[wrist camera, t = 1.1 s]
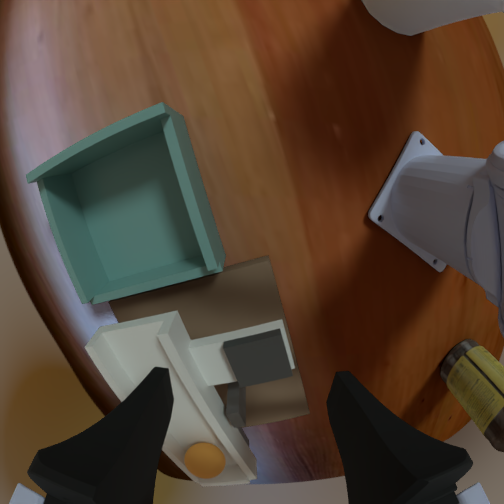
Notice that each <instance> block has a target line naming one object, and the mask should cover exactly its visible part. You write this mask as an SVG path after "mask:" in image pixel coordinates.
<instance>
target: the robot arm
mask: <svg viewBox="0 0 504 504" xmlns="http://www.w3.org/2000/svg"><path fill="white" fill-rule="evenodd" d="M420 139H421V140H422V145H421V144H420ZM380 215H381V216H382V218H381V220H380V221H378V217H379V216H380ZM368 217H369V219H370V220H372V221H373V222H374V223H376V224H377V225H379V226H380V227H381V228H383V229H384V230H385V231H387V232H388V233H389V234H391V235H392V236H394V237H395V238H396V239H398V240H399V241H400V242H401V243H403V244H404V245H405V246H407V247H408V248H409V249H411V250H412V251H413V252H414V253H416V254H417V255H418V256H419V257H421V258H422V259H423V260H424V261H426V262H427V263H428V264H429V265H431V266H432V267H433V268H434V269H435V270H437V271H438V272H442V271H443V270H444V268H445V267H446V265H447V264H448V265H449V266H451V267H452V268H454V269H456V270H457V271H459V272H460V273H462V274H463V275H465V276H466V277H468V278H469V279H471V280H473V281H474V282H475V283H477V284H478V285H480V286H481V287H483V288H484V290H485V292H486V299H488V300H489V301H490V302H492V303H493V304H494V305H496V306H497V307H499V313H498V322H499V328H500V331H501V333H502V335H503V337H504V141H502V142H500V143H499V144H498V145H496V146H495V148H494V149H493V151H492V153H491V154H490V155H489V157H488V158H487V159H480V158H469V157H456V156H443V155H442V154H441V153H440V152H439V151H438V150H437V149H436V148H435V147H434V146H433V145H432V144H431V143H430V142H429V141H428V140H427V139H426V138H425V137H424V136H423V135H422V134H421V133H420V132H417V131H415V132H412V133H411V135H410V137H409V139H408V141H407V143H406V145H405V147H404V149H403V151H402V153H401V155H400V156H399V158H398V160H397V162H396V164H395V166H394V168H393V170H392V171H391V173H390V175H389V177H388V179H387V180H386V182H385V184H384V186H383V188H382V189H381V191H380V193H379V195H378V196H377V198H376V200H375V201H374V203H373V205H372V207H371V208H370V210H369V212H368ZM434 260H435V262H434V263H433V261H434ZM173 403H174V396H173V391H172V385H171V379H170V373H169V368H163V367H154V368H153V369H152V370H151V371H150V372H149V374H148V375H147V376H146V377H145V378H144V379H143V381H142V382H141V383H140V384H139V385H138V386H137V387H136V388H135V389H134V390H133V391H132V392H131V393H130V394H129V396H128V397H127V398H126V399H125V400H123V401H122V402H121V403H120V404H119V405H118V406H117V407H116V408H115V409H114V410H112V411H111V412H110V413H109V414H108V415H106V416H105V417H104V418H102V419H101V420H100V421H98V422H97V423H95V424H94V425H92V426H91V427H89V428H88V429H86V430H85V431H83V432H81V433H79V434H78V435H75V436H73V437H71V438H70V439H67V440H65V441H63V442H61V443H58V444H55V445H53V446H50V447H47V448H44V449H41V450H38V452H37V454H36V456H35V457H34V459H33V461H32V463H31V465H30V467H29V470H28V472H27V473H28V475H29V477H30V478H31V479H32V480H33V481H34V482H35V483H36V484H37V485H38V486H39V487H40V488H41V489H42V490H44V491H45V492H46V493H47V495H46V498H44V497H43V496H41V495H39V494H38V493H36V492H34V491H32V490H30V489H29V488H27V487H25V486H24V485H22V484H21V483H18V485H17V487H16V489H15V491H14V493H13V496H12V498H11V500H10V503H9V504H153V496H154V487H155V479H156V473H157V466H158V462H159V457H160V454H161V451H162V447H163V444H164V440H165V437H166V434H167V430H168V427H169V424H170V420H171V415H172V409H173ZM326 403H327V409H328V415H329V420H330V424H331V427H332V430H333V434H334V437H335V440H336V443H337V446H338V449H339V452H340V455H341V459H342V462H343V466H344V472H345V478H346V484H347V492H348V499H349V504H490V502H489V500H488V498H487V496H486V494H485V492H484V490H483V488H482V486H481V484H480V483H479V482H477V483H476V484H474V485H472V486H471V487H469V488H467V489H465V490H464V491H462V492H460V493H459V494H457V495H456V494H455V492H454V491H456V490H457V486H456V484H455V483H456V482H457V481H458V480H459V479H460V478H461V477H463V476H464V475H465V474H466V473H467V472H468V471H469V470H470V468H471V467H472V465H473V461H472V460H471V458H470V456H469V454H468V453H467V451H466V450H465V449H464V448H460V447H457V446H453V445H450V444H447V443H444V442H442V441H439V440H437V439H434V438H432V437H430V436H428V435H426V434H424V433H422V432H421V431H419V430H417V429H415V428H414V427H412V426H410V425H409V424H407V423H406V422H404V421H403V420H401V419H400V418H399V417H397V416H396V415H395V414H393V413H392V412H391V411H390V410H389V409H387V408H386V407H385V406H384V405H383V404H382V403H380V402H379V401H378V400H377V399H376V398H375V397H374V396H373V395H372V394H371V393H370V392H369V391H368V390H367V389H366V388H365V387H364V386H363V385H362V384H361V383H360V382H359V381H358V380H357V379H356V378H355V377H354V376H353V375H352V374H351V373H350V372H349V371H342V372H336V374H335V377H334V380H333V384H332V387H331V390H330V393H329V396H328V399H327V402H326Z"/></svg>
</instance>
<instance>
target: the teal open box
mask: <svg viewBox="0 0 504 504" xmlns="http://www.w3.org/2000/svg"><path fill="white" fill-rule="evenodd" d="M26 178H27V182H28V183H33V182H37V184H38V188H39V191H40V195H41V198H42V202H43V205H44V209H45V212H46V215H47V218H48V221H49V224H50V227H51V230H52V233H53V236H54V239H55V241H56V244H57V247H58V249H59V252H60V254H61V257H62V259H63V262H64V264H65V267H66V269H67V272H68V274H69V276H70V278H71V281H72V283H73V285H74V287H75V290H76V292H77V294H78V296H79V298H80V300H81V302H82V304H84V303H88V302H89V301H90V302H91V304H92V305H93V304H97V303H101V302H105V301H109V300H113V299H117V298H121V297H125V296H129V295H133V294H137V293H141V292H145V291H149V290H152V289H156V288H160V287H164V286H168V285H172V284H176V283H179V282H183V281H187V280H191V279H195V278H199V277H202V276H206V275H210V274H214V273H217V272H221V271H223V266H224V262H225V257H226V254H225V251H224V248H223V245H222V242H221V239H220V236H219V233H218V230H217V226H216V223H215V220H214V217H213V214H212V211H211V207H210V204H209V201H208V198H207V194H206V191H205V188H204V185H203V181H202V178H201V175H200V171H199V168H198V165H197V161H196V158H195V155H194V151H193V148H192V144H191V141H190V138H189V134H188V131H187V127H186V124H185V120H184V117H183V116H182V115H181V114H179V113H178V112H176V111H175V110H174V109H172V108H171V107H169V106H168V105H166V104H165V103H163V102H162V103H159V104H157V105H154V106H152V107H149V108H147V109H144V110H142V111H140V112H137V113H135V114H133V115H131V116H128V117H126V118H124V119H122V120H120V121H118V122H116V123H113V124H111V125H109V126H107V127H105V128H103V129H101V130H99V131H97V132H96V133H94V134H92V135H90V136H88V137H86V138H84V139H83V140H81V141H79V142H77V143H75V144H74V145H72V146H70V147H69V148H67V149H65V150H63V151H62V152H60V153H59V154H57V155H55V156H54V157H52V158H51V159H49V160H47V161H46V162H44V163H43V164H41V165H40V166H38V167H37V168H35V169H34V170H32V171H31V172H30V173H28V174H27V175H26Z"/></svg>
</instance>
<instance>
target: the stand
mask: <svg viewBox="0 0 504 504" xmlns="http://www.w3.org/2000/svg"><path fill="white" fill-rule="evenodd" d="M109 304H110V306H111V308H112V310H113V312H114V314H115V316H116V318H117V320H118V322H119V323H122V322H126V321H131V320H136V319H141V318H145V317H150V316H155V315H159V314H164V313H168V312H172V311H177V310H178V313H179V315H180V317H181V320H182V322H183V324H184V326H185V328H186V330H187V333H188V335H189V337H190V339H191V340H194V339H199V338H204V337H208V336H213V335H218V334H222V333H227V332H231V331H236V330H240V329H244V328H249V327H253V326H257V325H261V324H265V323H269V322H273V321H277V320H281V319H282V320H283V324H284V328H285V331H286V335H287V339H288V342H289V346H290V350H291V354H292V357H293V361H294V366H295V368H294V369H292V373H293V376H292V377H288V378H283V379H279V380H275V381H270V382H266V383H261V384H257V385H252V386H247V387H241V388H240V386H239V383H238V381H236V382H230V383H225V384H219V385H214V387H215V389H216V391H217V393H218V395H219V396H220V398H221V400H222V402H223V404H224V406H225V407H226V415H227V417H228V419H229V420H230V422H231V424H232V425H233V427H234V428H238V427H241V428H242V427H249V426H255V425H260V424H266V423H271V422H276V421H281V420H286V419H290V418H294V417H299V416H303V415H307V414H310V412H309V408H308V404H307V400H306V396H305V392H304V388H303V384H302V380H301V376H300V372H299V368H298V364H297V361H296V357H295V353H294V349H293V345H292V341H291V338H290V334H289V330H288V326H287V322H286V319H285V315H284V311H283V307H282V304H281V300H280V296H279V292H278V289H277V285H276V281H275V278H274V274H273V270H272V267H271V263H270V259H269V256H264V257H261V258H257V259H253V260H250V261H246V262H242V263H238V264H235V265H231V266H227V267H224V268H223V271H221V272H217V273H214V274H210V275H206V276H202V277H199V278H195V279H191V280H187V281H183V282H179V283H176V284H172V285H168V286H164V287H160V288H156V289H152V290H149V291H145V292H141V293H137V294H133V295H129V296H125V297H121V298H117V299H113V300H110V301H109Z"/></svg>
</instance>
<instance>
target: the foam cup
mask: <svg viewBox="0 0 504 504" xmlns="http://www.w3.org/2000/svg"><path fill="white" fill-rule="evenodd" d="M362 2H363V4H364V5H365V7H366V9H367V10H368V12H369V13H370V14H371V15H372V16H373V17H374V18H375V19H376V20H377V21H379V22H380V23H381V24H382V25H383V26H385V27H387V28H389V29H391V30H393V31H394V32H396V33H399V34H404V35H409V36H412V35H415V34H418V33H421V32H424V31H427V30H430V29H434V28H437V27H440V26H443V25H447V24H450V23H454V22H457V21H461V20H465V19H469V18H473V17H477V16H482V15H486V14H491V13H497V12H504V0H362Z"/></svg>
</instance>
